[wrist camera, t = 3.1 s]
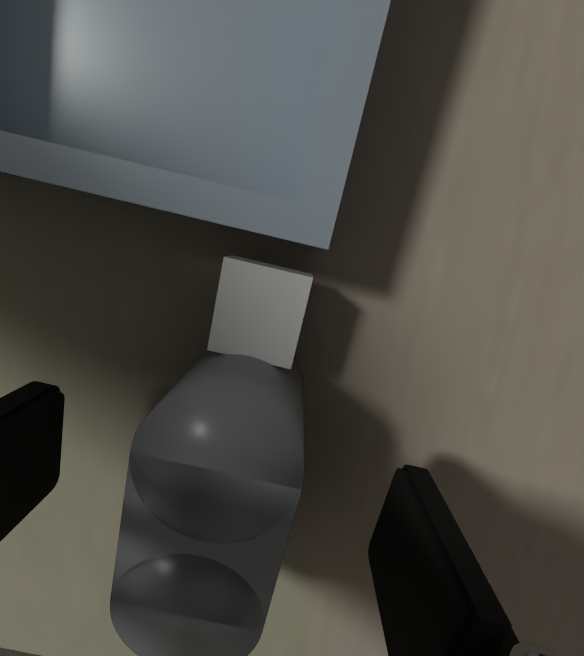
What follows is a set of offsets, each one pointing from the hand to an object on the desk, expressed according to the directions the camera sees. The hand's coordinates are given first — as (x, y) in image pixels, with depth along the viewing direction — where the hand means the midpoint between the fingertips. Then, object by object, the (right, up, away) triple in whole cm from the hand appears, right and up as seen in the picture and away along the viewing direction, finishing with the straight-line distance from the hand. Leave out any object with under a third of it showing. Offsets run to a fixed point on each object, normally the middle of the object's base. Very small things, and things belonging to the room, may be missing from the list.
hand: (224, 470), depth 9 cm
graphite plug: (0, +1, +2) cm, 2 cm away
